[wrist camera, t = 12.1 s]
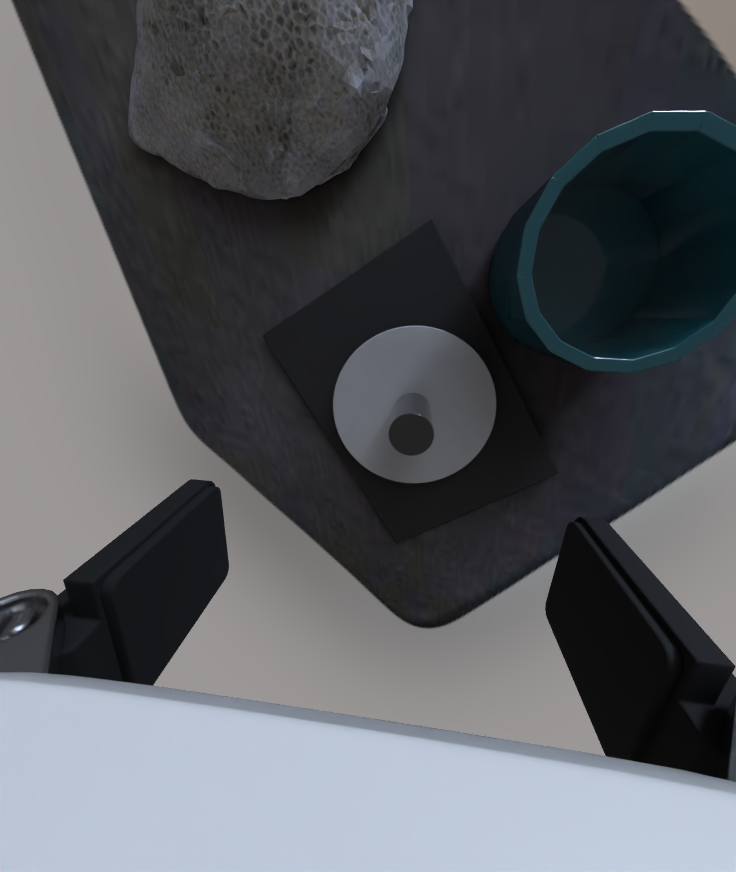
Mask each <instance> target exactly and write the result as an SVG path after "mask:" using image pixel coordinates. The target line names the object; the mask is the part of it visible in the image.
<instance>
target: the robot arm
mask: <svg viewBox="0 0 736 872" xmlns="http://www.w3.org/2000/svg"><path fill="white" fill-rule="evenodd" d="M228 569H229V562H228V553H227V544H226V536H225V526H224V517H223V508H222V499H221V492H220V489H219V488H218V487H215V484H214V483H213V482H212V481H204V480H192V479H191V480H189V481H187V482H186V483H185V484H184V485H182V486H181V487H180V488H179V489H178V490H176V491H175V492H174V493H172V494H171V495H170V496H169V497H167V498H166V499H165V500H164V501H162V502H161V503H160V504H158V505H157V506H156V507H155V508H153V509H152V510H151V511H150V512H148V513H147V514H146V515H145V516H143V517H142V518H141V519H140V520H138V521H137V522H136V523H135V524H133V525H132V526H131V527H130V528H128V529H127V530H126V531H124V532H123V533H122V534H121V535H119V536H118V537H117V538H116V539H114V540H113V541H112V542H111V543H109V544H108V545H107V546H106V547H104V548H103V549H102V550H101V551H99V552H98V553H97V554H95V556H93V557H92V558H90V559H89V560H88V561H87V562H85V563H84V564H83V565H82V566H80V567H79V568H78V569H77V570H75V571H74V572H73V573H72V574H70V575H69V576H68V577H67V578H65V579H64V580H63V581H64V584H65V587H66V589H65V590H64V591H63V592H62V593H60V594H59V595H58V596H57V595H56V594H55V593H54V592H53V591H50V590H45V589H30V590H26V591H21V592H16V593H14V594H11V595H8V596H5V597H2V598H0V872H736V677H735V676H734V675H733V674H732V672H733V670H734V668H735V665H734V664H733V663H732V662H731V661H730V660H729V659H728V658H727V656H726V655H725V654H724V653H723V652H722V651H721V650H720V649H719V647H718V646H717V645H716V644H715V643H714V642H713V641H712V640H711V639H710V637H709V636H708V635H707V634H706V633H705V632H704V630H702V628H701V627H700V626H699V625H698V624H697V623H696V621H695V620H694V619H693V618H692V617H691V616H690V615H689V614H688V612H687V611H686V610H685V609H684V608H683V607H682V606H681V605H680V604H679V602H678V601H677V600H676V599H675V598H674V597H673V596H672V594H671V593H670V592H669V591H668V590H667V589H666V588H665V587H664V585H663V584H662V583H661V582H660V581H659V580H658V579H657V578H656V576H655V575H654V574H653V573H652V572H651V571H650V570H649V569H648V567H647V566H646V565H645V564H644V563H643V562H642V561H641V559H639V557H638V556H637V555H636V554H635V553H634V552H633V550H632V549H631V548H630V547H629V546H628V545H627V544H626V543H625V541H624V540H623V539H622V538H621V537H620V536H619V535H618V534H617V533H616V531H615V530H614V529H613V528H612V527H611V526H610V525H609V523H608V522H607V521H605V520H604V519H596V518H585V517H578V518H577V519H576V520H575V522H570V523H569V524H568V526H567V528H566V532H565V536H564V539H563V543H562V546H561V550H560V554H559V557H558V561H557V565H556V568H555V572H554V576H553V579H552V583H551V586H550V590H549V594H548V597H547V601H546V608H545V609H546V616H547V619H548V621H549V624H550V626H551V628H552V631H553V633H554V636H555V638H556V640H557V643H558V645H559V647H560V650H561V652H562V654H563V657H564V659H565V661H566V664H567V666H568V668H569V671H570V673H571V675H572V678H573V680H574V682H575V685H576V687H577V690H578V692H579V694H580V696H581V699H582V701H583V704H584V706H585V708H586V711H587V713H588V715H589V718H590V720H591V722H592V725H593V727H594V729H595V732H596V734H597V736H598V739H599V741H600V744H601V746H602V748H603V751H604V753H605V755H606V756H601V755H595V754H590V753H585V752H579V751H573V750H566V749H560V748H554V747H548V746H542V745H535V744H529V743H522V742H517V741H510V740H504V739H497V738H491V737H485V736H479V735H472V734H467V733H460V732H454V731H448V730H442V729H435V728H428V727H422V726H416V725H410V724H403V723H397V722H390V721H384V720H377V719H370V718H365V717H358V716H352V715H345V714H338V713H332V712H325V711H319V710H312V709H306V708H298V707H292V706H285V705H280V704H272V703H266V702H259V701H253V700H246V699H239V698H233V697H226V696H219V695H212V694H205V693H198V692H192V691H185V690H178V689H172V688H165V687H158V686H153V684H154V683H155V681H156V680H157V679H158V677H159V676H160V674H161V673H162V671H163V670H164V668H165V667H166V665H167V664H168V662H169V661H170V659H171V658H172V656H173V655H174V654H175V652H176V651H177V649H178V647H179V646H180V645H181V643H182V642H183V640H184V639H185V637H186V636H187V634H188V633H189V631H190V630H191V628H192V627H193V626H194V624H195V622H196V621H197V620H198V618H199V617H200V615H201V614H202V612H203V611H204V609H205V608H206V606H207V605H208V604H209V602H210V601H211V599H212V598H213V596H214V595H215V593H216V592H217V590H218V589H219V587H220V586H221V584H222V583H223V581H224V580H225V578H226V576H227V574H228Z"/></svg>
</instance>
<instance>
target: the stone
mask: <svg viewBox="0 0 736 872" xmlns="http://www.w3.org/2000/svg"><path fill="white" fill-rule="evenodd" d="M412 10H413V3H412V0H137V8H136V14H137V47H136V52H135V62H134V71H133V74H132V79H131V92H130V101H129V108H128V129H129V135H130V137H131V138H132V140H133V141H134V143H135V144H136V145H138V146H139V147H140V148H141V149H143V150H145V151H146V152H148V153H150V154H153V155H156V156H162V157H163V158H164V159H165V160H167V161H168V162H169V163H171V164H172V165H174V166H176V167H177V168H179V169H180V170H182V171H184V172H185V173H187V174H189V175H192V176H194V177H196V178H199V179H201V180H204V181H206V182H208V183H209V184H210V185H211V186H212V187H214V188H216V189H225V190H229V191H233V192H237V193H241V194H243V195H245V196H247V197H251V198H255V199H263V200H272V199H285V200H287V199H289V198H290V197H297V196H302V195H303V194H305V193H306V192H307V191H309V190H310V189H312V188H313V187H315V186H316V185H321V184H323V183H324V182H326V181H327V180H329V179H330V178H332V177H334V176H335V175H337V174H340V173H342V172H344V171H346V170H347V169H349V168H350V166H351V165H352V164H353V162H354V161H355V160H356V159H357V157H358V155H359V153H360V152H361V150H362V149H363V148H364V147H365V146H366V145H367V143H368V142H369V141H370V140H371V139H372V137H373V136H374V135H375V134H376V132H377V131H378V130H379V128H380V127H381V126H382V124H383V122H384V121H385V119H386V115H387V104H388V102H389V99H390V96H391V94H392V91H393V89H394V86H395V84H396V81H397V79H398V77H399V74H400V70H401V67H402V64H403V59H404V46H405V40H406V34H407V29H408V24H409V21H410V18H411V14H412Z"/></svg>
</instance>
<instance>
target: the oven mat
mask: <svg viewBox="0 0 736 872" xmlns="http://www.w3.org/2000/svg"><path fill="white" fill-rule="evenodd" d="M415 325H420V326H429V327H434V328H437V329H441V330H444V331H446V332H449V333H451V334H453V335H455V336H457V337H458V338H460V339H462V340H463V341H464V342H466V343H467V344H468V345H469V346H471V347H472V348H473V349H474V350H475V351H476V353H477V354H478V355H479V356H480V357H481V359H482V360H483V362H484V363H485V364H486V366H487V368H488V370H489V372H490V374H491V377H492V380H493V383H494V387H495V392H496V416H495V420H494V425H493V428H492V431H491V433H490V436H489V438H488V440H487V441H486V443H485V445H484V446H483V448H482V449H481V451H480V452H479V453H478V454H477V455H476V457H475V458H474V459H473V460H472V461H471V462H469V463H468V464H467V465H466V466H464V467H463V468H462V469H460V470H459V471H457V472H455V473H454V474H451V475H449V476H447V477H445V478H442V479H439V480H436V481H431V482H426V483H403V482H397V481H393V480H389V479H386V478H384V477H381V476H379V475H377V474H375V473H373V472H371V471H370V470H368V469H367V468H365V467H364V466H363V465H361V464H360V463H359V462H358V461H357V460H356V459H355V458H354V457H353V456H352V455H351V454H350V452H349V451H348V450H347V448H346V447H345V445H344V444H343V442H342V440H341V438H340V436H339V434H338V431H337V428H336V424H335V420H334V414H333V397H334V390H335V386H336V382H337V380H338V377H339V374H340V372H341V370H342V368H343V366H344V365H345V363H346V362H347V360H348V359H349V357H350V356H351V355H352V354H353V353H354V352H355V351H356V350H357V349H358V348H359V347H360V346H361V345H362V344H364V343H365V342H366V341H367V340H369V339H371V338H372V337H374V336H376V335H377V334H380V333H382V332H384V331H386V330H390V329H393V328H397V327H403V326H415ZM263 337H264V339H265V340H266V342H267V343H268V345H269V346H270V348H271V349H272V351H273V352H274V354H275V356H276V357H277V359H278V360H279V362H280V363H281V365H282V366H283V368H284V369H285V371H286V372H287V374H288V376H289V377H290V379H291V380H292V382H293V383H294V385H295V386H296V388H297V389H298V391H299V392H300V394H301V396H302V397H303V399H304V400H305V402H306V403H307V405H308V406H309V408H310V409H311V411H312V412H313V414H314V416H315V417H316V419H317V420H318V422H319V423H320V425H321V426H322V428H323V429H324V431H325V432H326V434H327V436H328V437H329V439H330V440H331V442H332V443H333V445H334V446H335V448H336V449H337V451H338V452H339V454H340V456H341V457H342V459H343V460H344V462H345V463H346V465H347V466H348V468H349V469H350V471H351V472H352V474H353V476H354V477H355V479H356V480H357V482H358V483H359V485H360V486H361V488H362V489H363V491H364V492H365V494H366V496H367V497H368V499H369V500H370V502H371V503H372V505H373V506H374V508H375V509H376V511H377V512H378V514H379V516H380V517H381V519H382V520H383V522H384V523H385V525H386V526H387V528H388V529H389V531H390V532H391V534H392V536H393V537H394V539H395V540H396V542H397V543H398V542H400V541H403V540H405V539H407V538H409V537H412V536H414V535H416V534H419V533H421V532H423V531H426V530H428V529H430V528H433V527H435V526H437V525H440V524H442V523H444V522H447V521H449V520H451V519H453V518H456V517H458V516H460V515H463V514H465V513H467V512H470V511H472V510H474V509H477V508H479V507H481V506H484V505H486V504H488V503H491V502H493V501H495V500H498V499H500V498H502V497H504V496H507V495H509V494H511V493H514V492H516V491H518V490H521V489H523V488H525V487H528V486H530V485H532V484H535V483H537V482H539V481H542V480H544V479H546V478H548V477H551V476H553V475H555V474H558V471H557V469H556V467H555V465H554V463H553V461H552V459H551V457H550V455H549V453H548V451H547V449H546V447H545V445H544V443H543V441H542V439H541V437H540V435H539V433H538V431H537V429H536V426H535V424H534V422H533V420H532V418H531V416H530V414H529V412H528V410H527V408H526V406H525V404H524V402H523V400H522V398H521V396H520V394H519V392H518V390H517V388H516V386H515V384H514V382H513V380H512V378H511V376H510V374H509V372H508V370H507V368H506V366H505V364H504V362H503V360H502V358H501V356H500V354H499V352H498V350H497V348H496V346H495V344H494V342H493V340H492V338H491V336H490V334H489V332H488V330H487V328H486V326H485V324H484V322H483V320H482V318H481V316H480V314H479V312H478V310H477V308H476V306H475V304H474V302H473V300H472V298H471V296H470V294H469V292H468V290H467V288H466V286H465V284H464V282H463V280H462V278H461V275H460V273H459V271H458V269H457V267H456V265H455V263H454V261H453V259H452V257H451V255H450V253H449V251H448V249H447V247H446V245H445V243H444V241H443V239H442V237H441V235H440V233H439V231H438V229H437V227H436V225H435V223H434V221H433V219H431V220H430V221H428V222H427V223H425V224H424V225H422V226H421V227H419V228H418V229H417V230H415V231H414V232H412V233H411V234H409V235H408V236H406V237H405V238H403V239H402V240H401V241H399V242H398V243H396V244H395V245H393V246H392V247H390V248H389V249H388V250H386V251H385V252H383V253H382V254H380V255H379V256H377V257H376V258H374V259H373V260H372V261H370V262H369V263H367V264H366V265H364V266H363V267H361V268H360V269H359V270H357V271H356V272H354V273H353V274H351V275H350V276H348V277H347V278H346V279H344V280H343V281H341V282H340V283H338V284H337V285H335V286H334V287H332V288H331V289H330V290H328V291H327V292H325V293H324V294H322V295H321V296H319V297H318V298H317V299H315V300H314V301H312V302H311V303H309V304H308V305H306V306H305V307H303V308H302V309H301V310H299V311H298V312H296V313H295V314H293V315H292V316H290V317H289V318H288V319H286V320H285V321H283V322H282V323H280V324H279V325H277V326H276V327H274V328H273V329H272V330H270V331H269V332H267V333H266V334H264V335H263Z"/></svg>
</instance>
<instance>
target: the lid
mask: <svg viewBox="0 0 736 872" xmlns="http://www.w3.org/2000/svg"><path fill="white" fill-rule="evenodd" d="M333 414H334V420H335V424H336V428H337V431H338V434H339V436H340V438H341V440H342V442H343V444H344V445H345V447H346V448H347V450H348V451H349V452H350V454H351V455H352V456H353V457H354V458H355V459H356V460H357V461H358V462H359V463H360V464H361V465H363V466H364V467H365V468H367V469H368V470H370V471H371V472H373V473H375V474H377V475H379V476H381V477H384V478H386V479H389V480H393V481H397V482H403V483H426V482H431V481H436V480H439V479H442V478H445V477H447V476H449V475H451V474H454V473H455V472H457V471H459V470H460V469H462V468H463V467H464V466H466V465H467V464H468V463H469V462H471V461H472V460H473V459H474V458H475V457H476V455H477V454H478V453H479V452H480V451H481V449H482V448H483V446H484V445H485V443H486V441H487V440H488V438H489V436H490V433H491V431H492V428H493V425H494V420H495V416H496V392H495V387H494V383H493V380H492V377H491V374H490V372H489V370H488V368H487V366H486V364H485V363H484V362H483V360H482V359H481V357H480V356H479V355H478V354H477V353H476V351H475V350H474V349H473V348H472V347H471V346H469V345H468V344H467V343H466V342H464V341H463V340H462V339H460V338H458V337H457V336H455V335H453V334H451V333H449V332H446V331H444V330H441V329H437V328H434V327H429V326H420V325H415V326H403V327H397V328H393V329H390V330H386V331H384V332H382V333H380V334H377V335H376V336H374V337H372V338H371V339H369V340H367V341H366V342H365V343H364V344H362V345H361V346H360V347H359V348H358V349H357V350H356V351H355V352H354V353H353V354H352V355H351V356H350V357H349V359H348V360H347V362H346V363H345V365H344V366H343V368H342V370H341V372H340V374H339V377H338V380H337V382H336V386H335V390H334V397H333Z"/></svg>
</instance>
